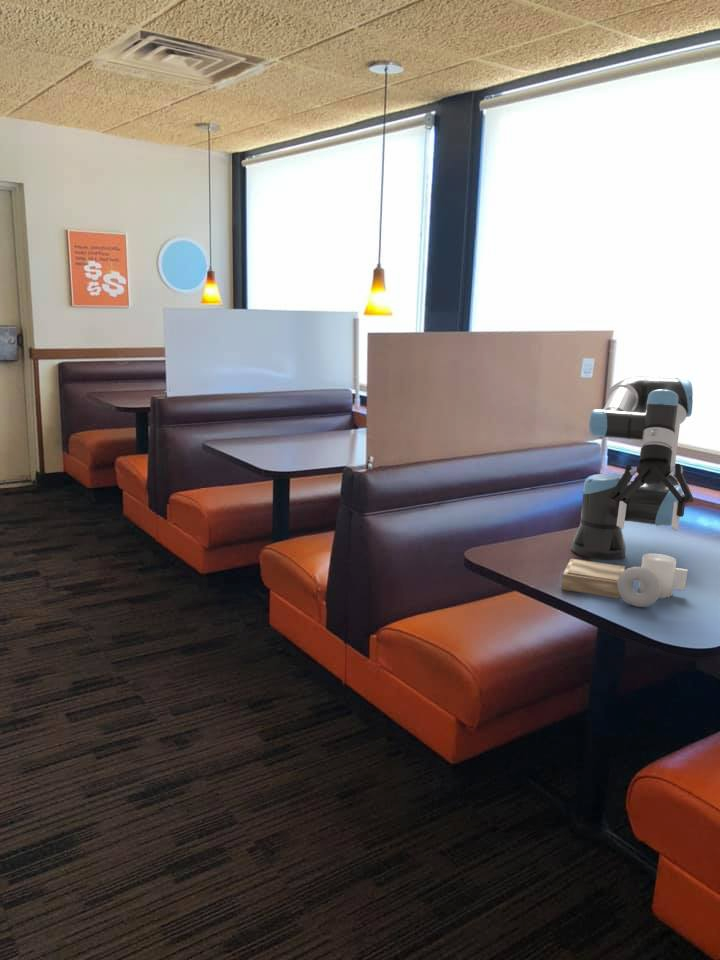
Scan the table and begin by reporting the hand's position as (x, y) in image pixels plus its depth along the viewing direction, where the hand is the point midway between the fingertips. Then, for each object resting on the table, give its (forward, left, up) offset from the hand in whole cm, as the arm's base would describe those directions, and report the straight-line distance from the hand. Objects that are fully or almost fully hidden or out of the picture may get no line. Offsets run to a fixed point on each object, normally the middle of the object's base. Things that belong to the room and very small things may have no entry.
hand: (646, 528), depth 189 cm
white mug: (-2, +5, -17) cm, 18 cm away
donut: (+10, 0, -17) cm, 20 cm away
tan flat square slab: (0, -11, -17) cm, 20 cm away
